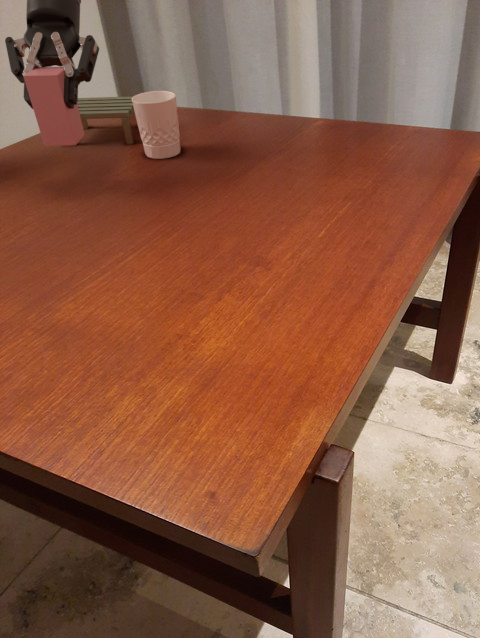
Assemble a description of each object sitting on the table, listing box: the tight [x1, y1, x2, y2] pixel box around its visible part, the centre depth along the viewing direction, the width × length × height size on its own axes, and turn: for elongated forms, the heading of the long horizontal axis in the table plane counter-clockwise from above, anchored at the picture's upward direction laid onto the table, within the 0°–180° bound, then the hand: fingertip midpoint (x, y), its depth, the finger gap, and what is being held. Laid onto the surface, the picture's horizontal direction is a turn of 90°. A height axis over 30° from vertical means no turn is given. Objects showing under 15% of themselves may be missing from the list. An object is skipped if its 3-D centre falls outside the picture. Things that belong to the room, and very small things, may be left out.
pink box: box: [24, 66, 85, 147], centre depth 85 cm, size 5×5×10 cm
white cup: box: [132, 90, 182, 160], centre depth 103 cm, size 8×8×10 cm
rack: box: [67, 95, 135, 147], centre depth 113 cm, size 14×12×6 cm
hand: (50, 105), depth 83 cm, fingers closed on pink box, 5 cm apart
